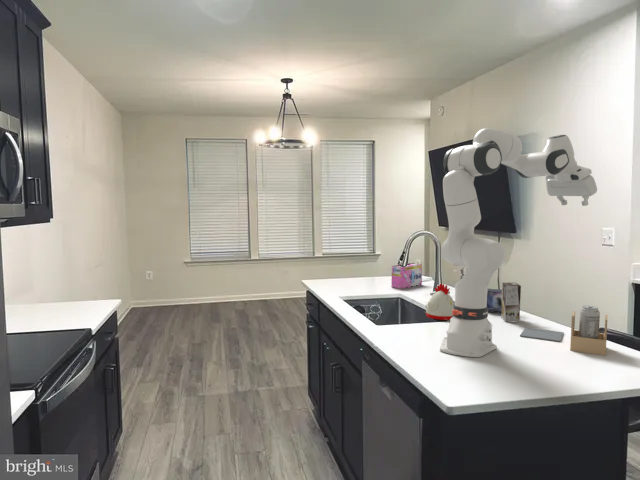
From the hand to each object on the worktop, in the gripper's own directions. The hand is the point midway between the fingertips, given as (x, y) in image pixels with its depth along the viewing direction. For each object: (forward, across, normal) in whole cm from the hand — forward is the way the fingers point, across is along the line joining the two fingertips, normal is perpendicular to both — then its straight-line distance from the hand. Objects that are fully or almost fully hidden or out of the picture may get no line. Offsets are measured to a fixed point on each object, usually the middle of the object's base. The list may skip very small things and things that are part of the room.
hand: (574, 204), depth 189 cm
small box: (+44, -34, -28) cm, 62 cm away
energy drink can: (+37, +24, -39) cm, 59 cm away
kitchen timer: (+32, -36, -55) cm, 73 cm away
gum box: (+46, -111, -28) cm, 124 cm away
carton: (+37, +24, -39) cm, 59 cm away
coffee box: (+41, -19, -33) cm, 56 cm away
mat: (+37, +5, -40) cm, 55 cm away
